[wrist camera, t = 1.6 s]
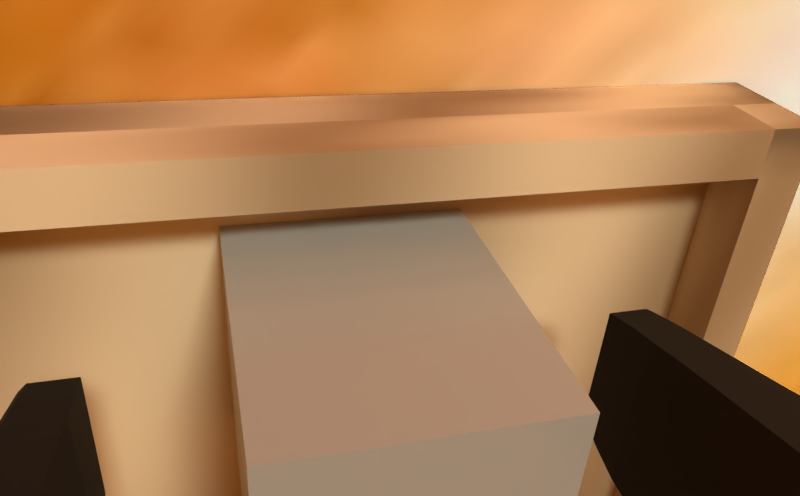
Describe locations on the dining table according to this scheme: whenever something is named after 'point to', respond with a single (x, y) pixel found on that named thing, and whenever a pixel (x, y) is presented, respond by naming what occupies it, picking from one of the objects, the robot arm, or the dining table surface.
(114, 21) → the dining table surface
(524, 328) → the grey rectangular prism
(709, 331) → the beech tray
